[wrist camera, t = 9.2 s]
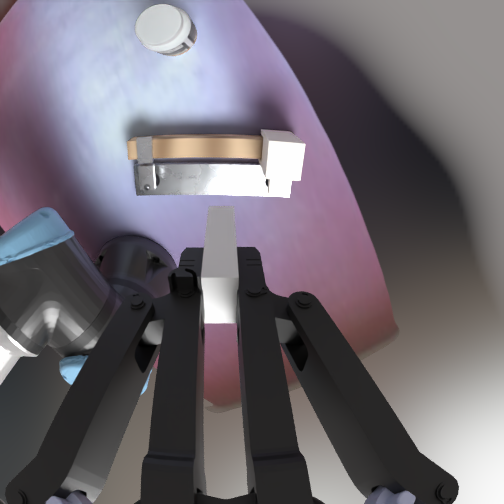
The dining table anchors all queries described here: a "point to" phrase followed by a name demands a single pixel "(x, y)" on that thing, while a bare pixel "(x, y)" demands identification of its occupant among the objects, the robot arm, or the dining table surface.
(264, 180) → the hole plate
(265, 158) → the block
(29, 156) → the dining table surface
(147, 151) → the fixed leg
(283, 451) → the robot arm
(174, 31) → the pill bottle
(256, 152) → the beam
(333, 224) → the dining table surface
